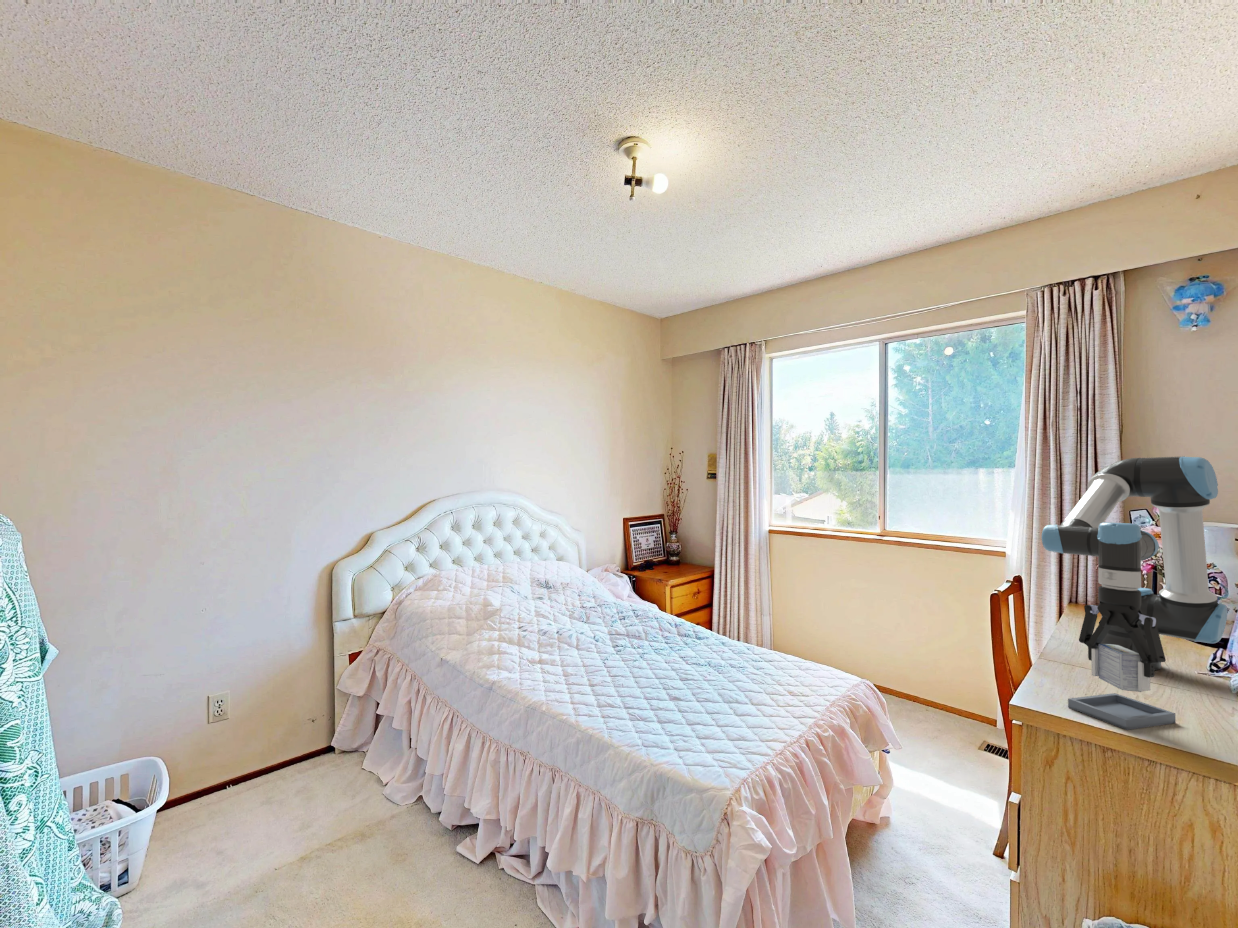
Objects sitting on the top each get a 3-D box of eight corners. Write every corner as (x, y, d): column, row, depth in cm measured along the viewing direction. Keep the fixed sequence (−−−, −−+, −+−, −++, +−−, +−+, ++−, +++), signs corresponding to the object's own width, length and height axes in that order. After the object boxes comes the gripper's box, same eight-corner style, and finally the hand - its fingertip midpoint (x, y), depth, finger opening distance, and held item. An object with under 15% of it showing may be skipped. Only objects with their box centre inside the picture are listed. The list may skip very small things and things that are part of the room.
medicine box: (1143, 692, 122) (1143, 654, 122) (1120, 690, 123) (1120, 652, 123) (1118, 680, 130) (1118, 644, 130) (1097, 678, 131) (1097, 642, 131)
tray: (1115, 701, 134) (1114, 692, 134) (1175, 722, 123) (1175, 713, 123) (1068, 707, 130) (1068, 698, 130) (1126, 729, 118) (1126, 719, 118)
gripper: (1059, 579, 137) (1060, 667, 136) (1164, 597, 116) (1165, 702, 115) (1081, 578, 139) (1081, 666, 138) (1188, 596, 118) (1189, 699, 117)
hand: (1119, 682), depth 127 cm, fingers closed on medicine box, 9 cm apart
